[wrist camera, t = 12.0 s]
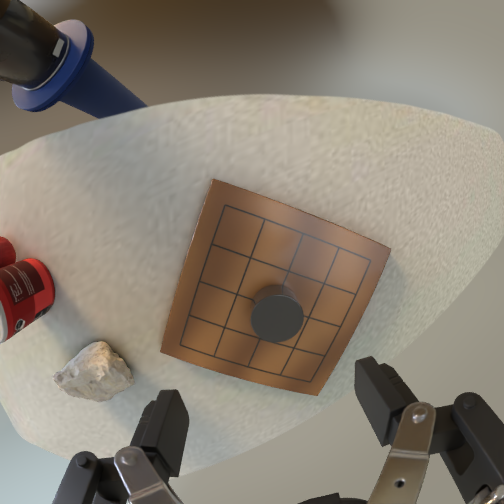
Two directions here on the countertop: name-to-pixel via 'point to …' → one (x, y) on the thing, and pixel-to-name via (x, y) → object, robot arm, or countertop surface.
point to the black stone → (276, 313)
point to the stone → (94, 374)
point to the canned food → (23, 295)
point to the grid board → (264, 274)
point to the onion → (6, 253)
